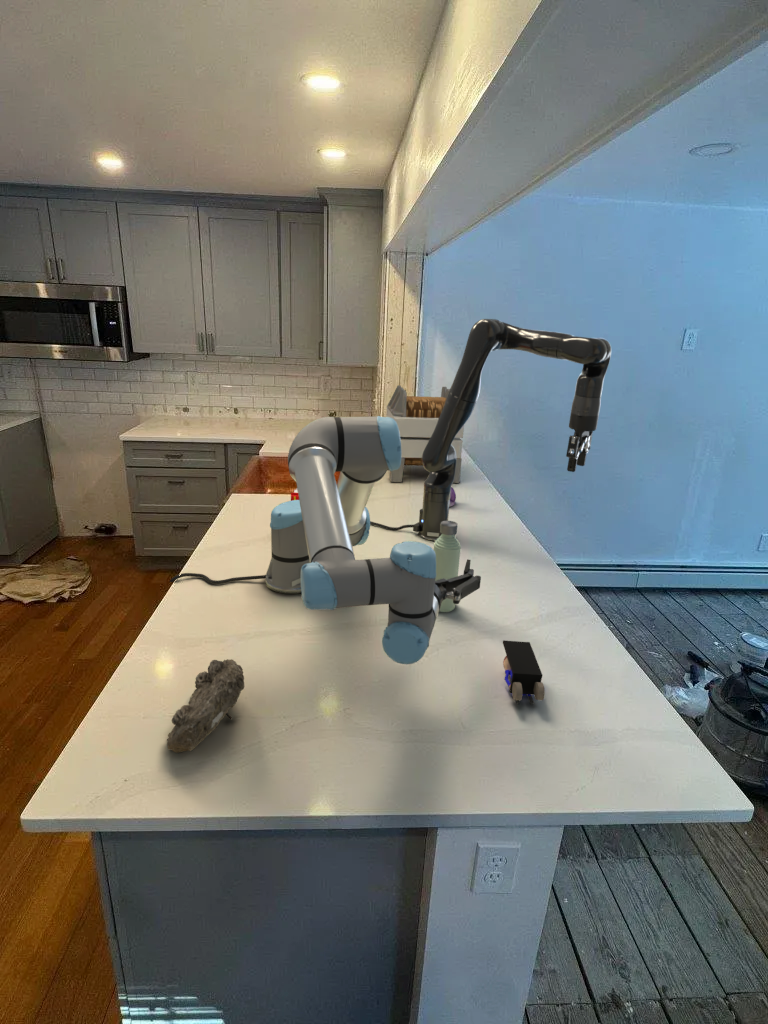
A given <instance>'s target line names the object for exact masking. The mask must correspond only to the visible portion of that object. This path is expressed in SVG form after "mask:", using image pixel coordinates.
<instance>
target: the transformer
mask: <svg viewBox="0 0 768 1024" xmlns="http://www.w3.org/2000/svg"><path fill="white" fill-rule="evenodd" d="M449 391H450V388H447V386H442V387H441V392H440V393H441V394H440V396H415V395H414V396H413V395H412V396H411V395H407V394H408V393H407V390H406V389H404V388H403V387H402V385H399V384H398V385H397V386H396V388H395V390H394V392H393V394H392V395H391V398H390V400H389V402H388V404H387V405H386V413H385V414H386V415H385V417H390V418H393V419H394V420H395V421H396V423H397V425H398V428H399V433H400V439H401V465H400V467H399V469H397V470H393V471H390V470H389V475H388V476H389V477H388V478H389V480H390V482H391V483H402V482H403V475H404V469H405V466H406V467H407V466H411V467H412V466H413V467H415V466H416V467H417V466H418V467H424V466H423V464H422V454H423V451H424V449H425V447H426V445H427V443H428V441H429V440H430V438H431V436H432V434H433V432H434V430H435V427H436V425H437V422H438V419H439V417H440V414H441V412H442V409H443V407H444V404H445V401H446V398H447V396H448V393H449ZM464 429H465V424H464V425H463V427H462V428H461V429H460V430H459V432H458V433H457V434H456V436H455V437H454V439H453V441H452V444H451V445H452V446H453V447H454V449H455V451H456V468H455V476H454V481H453V483H452V484H455V483H456V484H459V483H461V472H462V461H463V460H462V453H463V442H464V441H463V440H462V439H463V438H464V431H465V430H464Z"/></svg>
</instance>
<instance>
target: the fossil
mask: <svg viewBox="0 0 768 1024" xmlns="http://www.w3.org/2000/svg"><path fill="white" fill-rule="evenodd" d="M243 670H244V669H243V667H242V665H240V664H237V662H236V661H235V660H234V659H232V658H231V659H227V658H226V659H224V660H223V661H222V660H217V659H212V660H211V661H210V663H209V665H208V666H207V671H201V672H199V673H198V674H197V675H196V676H195V680H194V684H195V685H194V687H195V689H194V690H193V693H192V694H191V697H190V698H189V700H188V704H184V705H182V706H181V707H180V709H177V710H176V711H175V713H174V715H173V716H172V718H171V723H172V724H173V727H172V730H171V731H170V732H168V734H167V738H166V741H167V742H166V745H167V749H168V750H169V751H173V752H174V753H176V754H178V753H182V752H188V751H189V752H192V751H193V750H195V748H196V747H197V746H199V744H200V743H201V742H203V741H204V740H205V739H206V738H207V737H208V736H209V735H210V734H211V733H212V732H214V730H215V729H217V727H218V726H219V724H220V722H221V721H222V720H223V719H224V718H225V716H226V717H227V719H229V720H233V717H232V715H230V714H229V710H230V709H231V708H234V706H235V704H236V703H237V702H238V699H239V697H240V695H241V693H242V691H243V690H245V689H244V688H245V675H244V671H243Z"/></svg>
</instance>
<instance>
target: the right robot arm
mask: <svg viewBox="0 0 768 1024" xmlns="http://www.w3.org/2000/svg"><path fill="white" fill-rule="evenodd" d="M498 350H499V351H500V350H514V351H521V352H526V353H530V354H533V355H536V356H539V357H545V358H548V359H556V360H560V361H569V362H572V363H576V364H579V365H582V368H581V369H582V370H581V373H580V374H579V375H578V377H577V379H576V384H575V390H574V395H573V399H572V403H571V409H570V417H569V422H568V428H569V429H571V430H573V431H574V432H573V435H569V436H568V443H567V449H566V453H565V457H566V458H568V462H567V468H566V471H567V472H572V473H575V472H576V470H577V466H580V467H584V466H585V465H586V459H587V455H588V453H589V451H590V450H591V446H592V438H593V433H594V432H595V431H596V430H597V429H598V423H599V417H600V411H601V406H602V405H601V404H602V403H601V402H602V393H603V388H604V381H605V377H606V374H607V371H608V368H609V365H610V361H611V357H612V346H611V343H610V341H608V340H607V339H606V338H603V337H585V336H575V335H573V334H571V333H565V332H558V331H551V330H540V329H529V328H523V327H520V326H515V325H513V324H511V323H507V322H504V321H501V320H499V319H496V318H482V319H479V320H478V321H476V322H475V323H474V324H473V325H472V327H471V329H470V331H469V334H468V338H467V341H466V344H465V347H464V351H463V355H462V358H461V360H460V364H459V366H458V368H457V371H456V374H455V376H454V379H453V381H452V384H451V387H450V388H449V389H450V391H449V393H448V396H447V398H446V401H445V404H444V407H443V409H442V412H441V414H440V417H439V419H438V422H437V425H436V427H435V430H434V432H433V434H432V436H431V438H430V440H429V441H428V443H427V445H426V447H425V449H424V451H423V454H422V464H423V466H422V467H423V468H424V470H426V471H427V472H428V473H429V474H428V476H427V477H426V478H425V480H424V482H423V493H422V496H423V497H422V506H421V508H420V509H419V516H418V522H415V523H414V524H403V525H400V526H398V527H397V526H396V527H395V526H393V527H392V526H388V525H385V524H382V523H378V522H375V521H372V520H370V525H372V526H375V527H379V528H383V529H386V530H389V531H400V530H404V529H407V528H408V529H409V528H412V531H413V532H415V533H417V535H418V536H420V538H421V539H424V540H426V541H432V542H435V541H436V540H437V539H438V538H439V537H440V536H441V534H442V533H441V532H440V527H441V522H442V521H449V517H450V516H449V514H450V507H449V505H450V493H451V487H453V484H454V483H453V481H454V476H455V468H456V451H455V449H454V447H453V446H452V445H451V444H452V441H453V439H454V437H455V436H456V434H457V433H458V432H459V430H460V429H461V428H462V427H463V425H464V426H465V424H466V423H467V421H468V420H469V418H470V417H471V415H472V413H473V411H474V409H475V407H476V404H477V402H478V400H479V396H480V393H481V383H482V382H481V381H482V372H483V369H484V367H485V364H486V362H487V360H488V358H489V356H490V354H491V352H494V351H498Z"/></svg>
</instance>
